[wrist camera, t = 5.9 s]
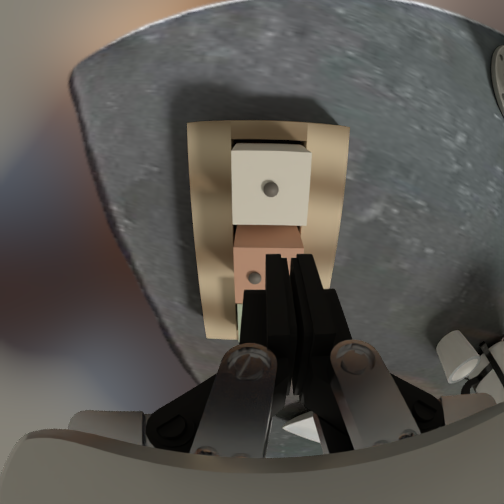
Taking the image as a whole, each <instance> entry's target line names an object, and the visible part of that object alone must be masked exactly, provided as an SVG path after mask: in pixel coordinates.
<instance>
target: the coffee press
mask: <svg viewBox="0 0 504 504" xmlns="http://www.w3.org/2000/svg"><path fill="white" fill-rule="evenodd" d="M479 346H480V348H481V350H482V352H483V354H482V355H481V356H480V357H481V359H480V362H479V364H478V366H477V367H476V368H475V369H474V370H473V371H472V372H471V373H470V374H469V377H470V380H469V379H468V378H464V379H466V380H468V381H467V382H466V383H465V385H464V386H463V388H462V391H461V395H463V394H470V388H471V387H473V388H474V391H475V393H476V392H477V393H487V394H489V395H491V396H492V397H493V398H494V399H495V401H496V404H498V403H501V402H504V340H503V341H500V342H498V343H496V344H494V345H493V346H491V347H490V348H489V349H488V347H487V345H486V343H485V342H483V343H481V344H480V345H479Z"/></svg>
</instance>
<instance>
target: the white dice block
mask: <svg viewBox="0 0 504 504" xmlns="http://www.w3.org/2000/svg"><path fill="white" fill-rule="evenodd" d="M311 160H312V152H310V151H309V150H307V149H306V148H305V147H303V146H302V145H300V144H280V143H236V145H235V146H234V147H233V149H232V150H231V171H232V220H233V225H293V226H307V215H308V203H309V190H310V176H311Z"/></svg>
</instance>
